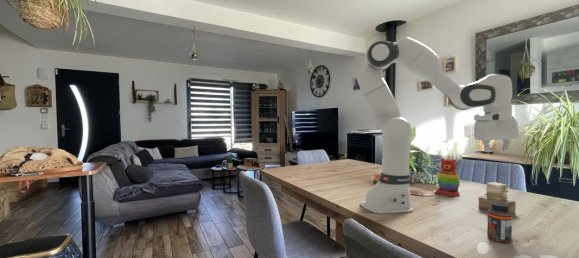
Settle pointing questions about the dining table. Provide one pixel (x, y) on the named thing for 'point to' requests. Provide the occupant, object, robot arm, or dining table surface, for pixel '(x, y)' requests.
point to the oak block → (497, 191)
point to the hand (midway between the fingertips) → (496, 151)
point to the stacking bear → (448, 179)
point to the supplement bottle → (499, 223)
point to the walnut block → (487, 203)
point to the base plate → (487, 212)
